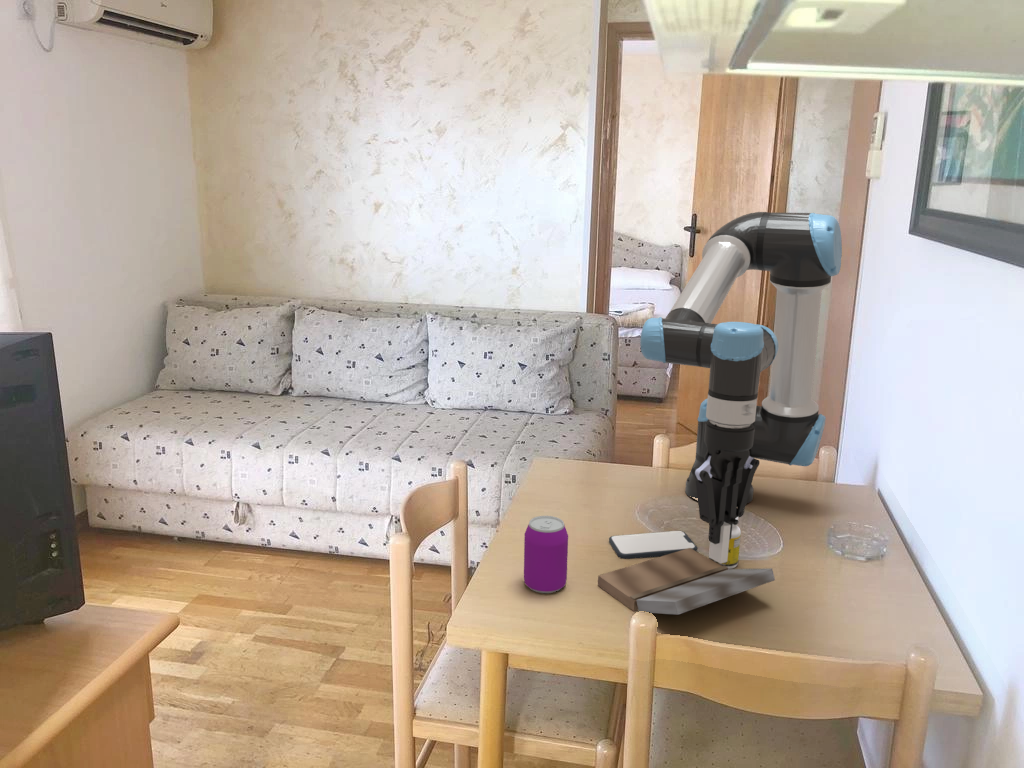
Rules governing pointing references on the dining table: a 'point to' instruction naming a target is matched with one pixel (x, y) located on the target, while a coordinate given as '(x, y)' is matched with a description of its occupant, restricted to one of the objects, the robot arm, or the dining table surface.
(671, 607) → the grey plank
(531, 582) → the beverage can
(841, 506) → the dining table surface
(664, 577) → the walnut floor board
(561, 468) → the dining table surface
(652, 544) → the smartphone
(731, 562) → the supplement bottle
